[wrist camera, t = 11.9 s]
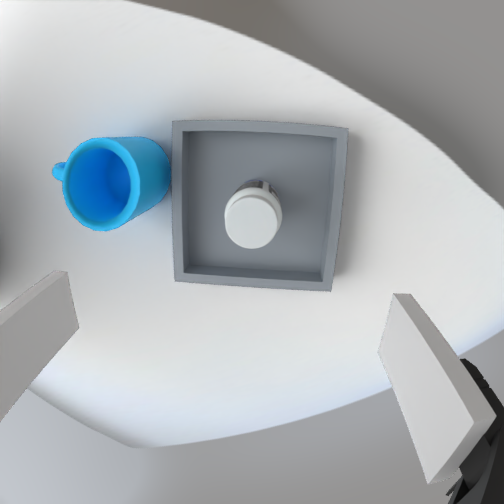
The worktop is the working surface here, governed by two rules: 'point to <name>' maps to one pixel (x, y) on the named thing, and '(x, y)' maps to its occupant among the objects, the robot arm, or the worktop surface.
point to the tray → (276, 174)
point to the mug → (113, 180)
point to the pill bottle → (253, 214)
